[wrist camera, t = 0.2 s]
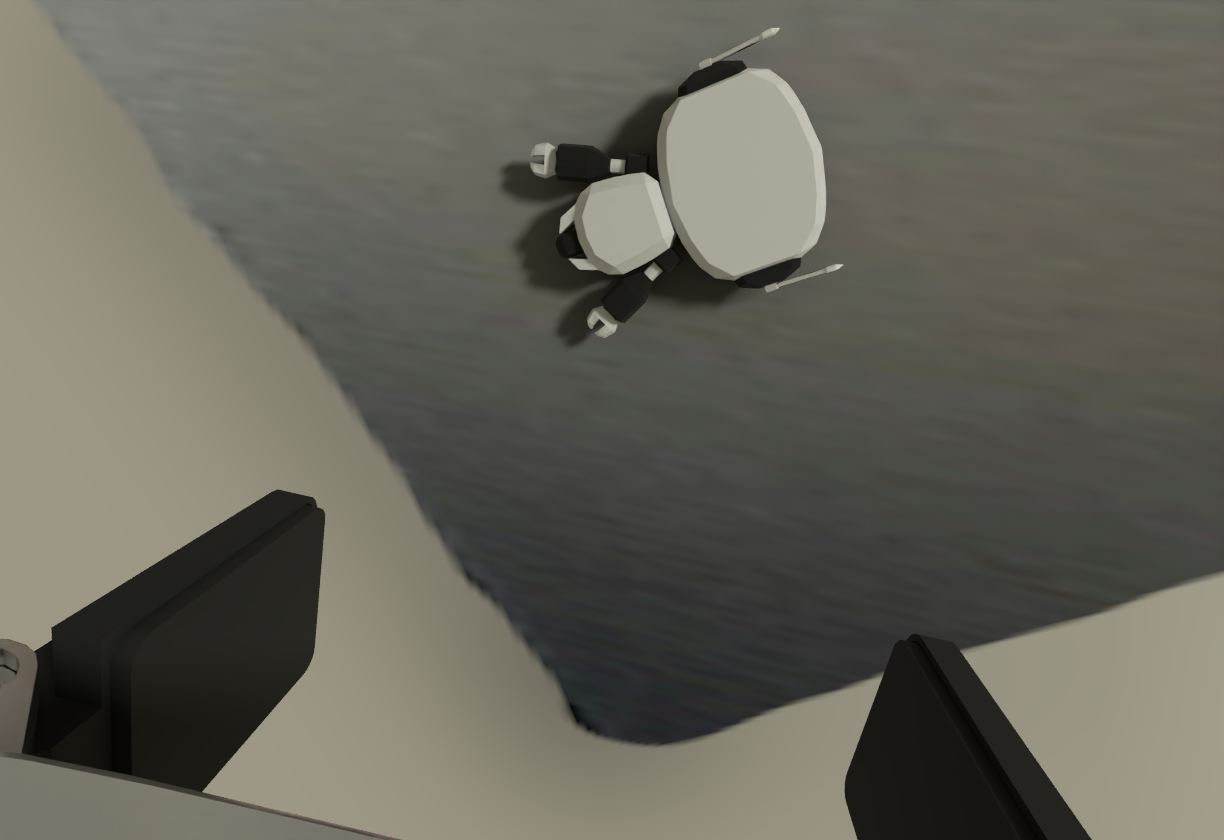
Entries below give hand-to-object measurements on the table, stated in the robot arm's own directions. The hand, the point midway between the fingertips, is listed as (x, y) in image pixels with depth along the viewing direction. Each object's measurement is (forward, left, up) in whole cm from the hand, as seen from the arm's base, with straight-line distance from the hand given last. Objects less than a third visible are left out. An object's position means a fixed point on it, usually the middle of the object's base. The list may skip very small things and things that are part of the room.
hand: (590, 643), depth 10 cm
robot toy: (-6, -6, -32) cm, 33 cm away
